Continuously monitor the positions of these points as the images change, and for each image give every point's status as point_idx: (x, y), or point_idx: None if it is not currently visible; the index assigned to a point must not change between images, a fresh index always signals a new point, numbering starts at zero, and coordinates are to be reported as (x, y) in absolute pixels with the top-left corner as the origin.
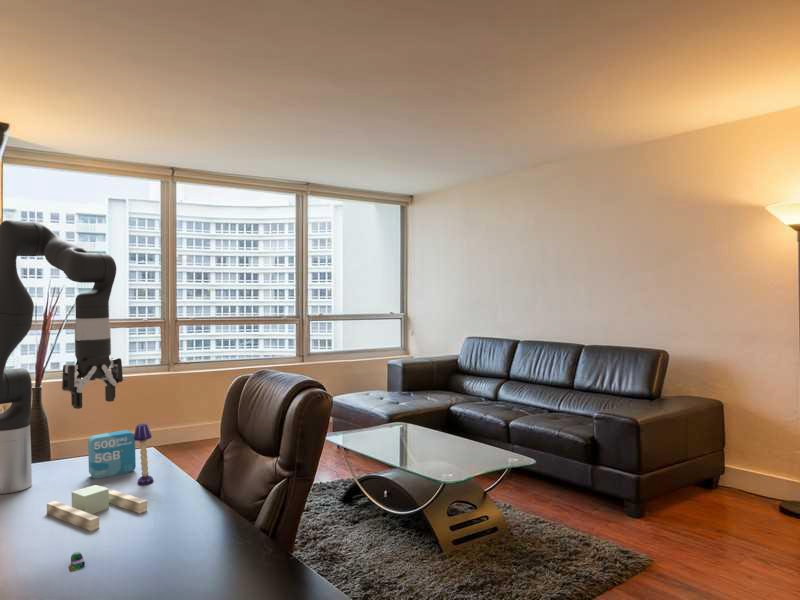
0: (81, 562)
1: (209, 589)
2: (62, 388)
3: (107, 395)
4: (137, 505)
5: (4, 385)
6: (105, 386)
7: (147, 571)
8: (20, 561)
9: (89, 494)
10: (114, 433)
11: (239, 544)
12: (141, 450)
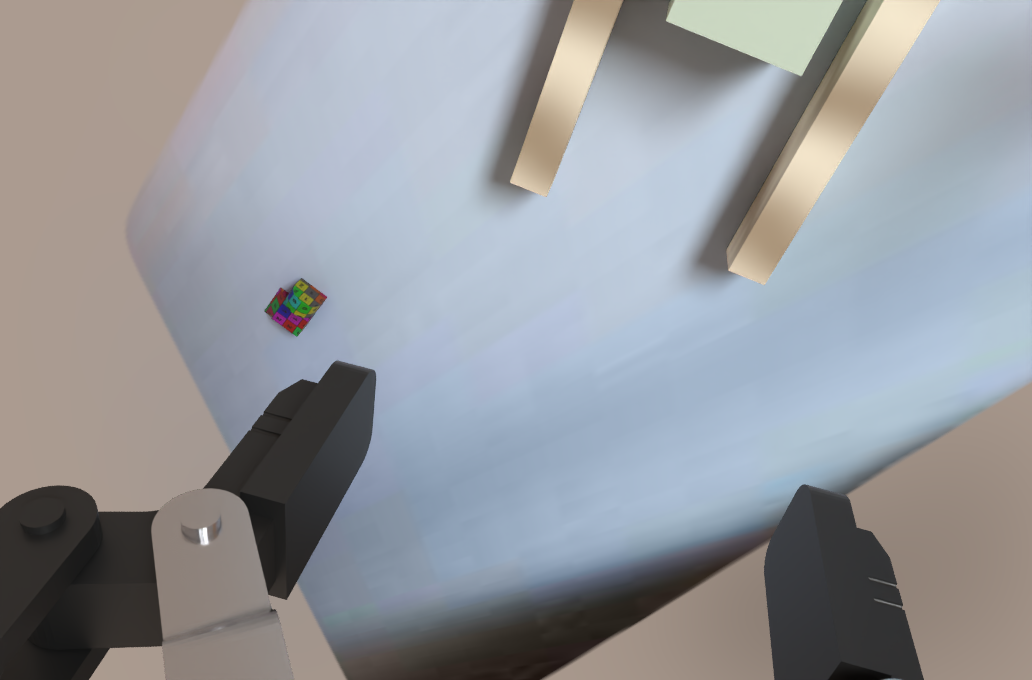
0: (290, 331)
1: (328, 618)
2: (6, 509)
3: (798, 565)
4: (735, 250)
5: None
6: (834, 661)
7: None
8: (244, 99)
9: (700, 27)
10: None
11: (531, 619)
12: None
